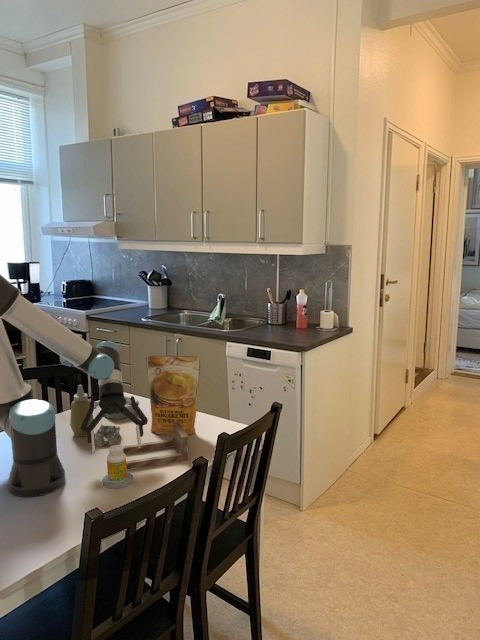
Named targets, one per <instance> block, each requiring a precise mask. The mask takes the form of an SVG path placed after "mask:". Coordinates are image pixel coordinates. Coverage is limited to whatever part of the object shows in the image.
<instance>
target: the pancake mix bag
mask: <svg viewBox="0 0 480 640" xmlns="http://www.w3.org/2000/svg"><path fill="white" fill-rule="evenodd" d="M145 361H146V362H145V363H146V373H147V384H148V393H149V394H148V395H149V399H150V400H149V401H150V413H151V427H150V432H153V433H155V434H157V435H165V436H173V422H179V423H180V425H181V426H182V428H183V429H184V431H185V433H186V434H187V436H190V435H192V434H194V435H195V434H196V428H195V423H196V417H197V406H198V400H199V399H198V398H199V390H200V374H201V372H200V371H201V360H200V358H197V356H189V355H188V356H187V355H186V356H184V355H183V356H181V355H178V356H177V355H149V356H148V357H145Z"/></svg>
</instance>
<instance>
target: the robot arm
mask: <svg viewBox="0 0 480 640" xmlns="http://www.w3.org/2000/svg"><path fill="white" fill-rule="evenodd" d="M21 294H22V293H21V290H20V289H19V288H18V287H17V286H15V285H14V284H13V283H11V282H10V281H9V280H7V279H6V278H5V277H4V276H3V275H2V274H0V429H2V430H3V432H4V433H6V435H7V436H8V438H9V439H10V441H11V451H12V452H11V453H12V465H11V467H10V472H9V476H8V480H7V487H8V491H9V493H10V494H12V495H13V496H17V497H22V498H23V497H24V498H32V497H39V496H42V495H43V496H44V495H46V494H49V493H51V492H54V491H56V490H57V489H59V488H60V487H62V486H63V484H65V481H66V473H65V468H64V466H63V464H62V462H61V460H60V458H59V455H58V445H57V431H56V429H57V428H56V419H57V418H56V414H55V410H54V409H55V408H54V406H53V405H52V404H51V403H50V402H48V401H46V400H43V399H42V400H41V399H36V396H35V393H34V391H33V388H32V385H31V384H28V383H26V382H25V381H24V379H23V375H22V373H21V370H20V367H19V365H18V362H17V358H16V356H15V353H14V350H13V347H12V345H11V342H10V339H9V337H8V334H7V331H6V329H5V325H4V322H3V320H5V321H6V322H8V323H9V324H10V325H12V326H13V327H15V328H17V329H18V330H20V331H21V332H23V333H24V334H26V335H28V336H29V337H31V338H32V339H34V340H35V341H37V342H38V343H40V344H42V345H43V346H45V347H46V349H47V348H48V349H49V350H51V351H52V352H54V353H55V354H57V356H59V361H60V363H61V364H62V365H63V366H67V367H70V368H71V367H73V368H76V369H78V370H80V371H81V372H83V373H86V375H88V376H90V377H91V378H93V379H96V380H98V387H99V388H98V393H99V401H94V400H90V408H89V410H88V412H87V414H86V417H85V419H84V421H83V423H82V425H81V432H85V433H87V435H86V438H87V444H91V452H92V455H96V448H95V447H96V446H95V445H96V443H95V436H94V435H95V434H94V429H95V428H96V426H97V425H98V424H99V423H100V422H101V420H102V419H103V418H104V417H105V414H108V415H111V414H118V413H120V412H121V413H122V414H124V415H125V416H126V418H128V419H129V420H130V421H131V422H132V423H133V424H135V432H136V440H137V441H136V442H137V444H138V448H141V444H142V439H141V438H142V437H143V436H144V427H143V426H145V425H148V421H149V419H148V417H147V416H146V415H145V414H144V411H142V409H141V407H140V406H139V405H137V404H136V402H135V400H136V399H135V397H134V395H132V396H131V397H130V398H128V399H125V398H124V397H125V394H124V393H125V392H124V387H123V376H122V375H123V374H122V367H121V354H120V349H119V346H118V344H117V343H115V342H114V341H110V340H108V341H102V342H99V343H97V345H96V346H94V345H92V344H91V343H89V342H88V341H86V340H85V339H84V338H82V337H81V336H79V335H77V334H76V333H75V332H73V331H72V330H71V329H69V327H66V326H64V325H63V324H62V323H60V322H59V321H58V320H56V319H55V318H54V317H52V316H51V315H49V314H48V313H46V312H45V311H43V310H42V309H41V308H39V307H38V306H37V305H35V304H34V303H32V302H31V301H30V300H28V299H26V298H25V297H24V296H22V295H21ZM2 319H3V320H2ZM126 403H128V404H129V405H131V406H132V408H133V410H134V411H135V413H134V414H133V413H131V412H130V411H129V410H128V409H127V408H126V407H125V404H126ZM97 407H99V408H100V410H99V412H98V413H97V414H96V416H95V417H94V418H93V419H94V420H93V421H92V422H91V424H90V425H89V426H88V427H87V425H88V423H89V420H90V418H91V416H92V414H94V412H95V411H94V410H95V409H97ZM135 414H136V415H137V416H136V415H135Z"/></svg>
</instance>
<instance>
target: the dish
mask: <svg viewBox="0 0 480 640" xmlns="http://www.w3.org/2000/svg"><path fill="white" fill-rule="evenodd" d="M124 398H125V399H128V398H131V397H129V396H124ZM135 402H136V404H137V405H138V406H139V405H140V402H139V400H136V399H135ZM125 407H126V408H127V409H128V410H129V411H130V412H131V413H133V414H134V415H135V414H136V412H135V411H134V410H133V408H132V406H131V405H129V404H128V403H126V404H125ZM104 417H106V418H108V419H113V420H119V419H126V418H127V417H126V416H125V415H124V414H122V413H121V412H120V413H118V414H111V415H108V414H105V415H104Z"/></svg>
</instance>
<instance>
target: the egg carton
mask: <svg viewBox="0 0 480 640" xmlns="http://www.w3.org/2000/svg"><path fill="white" fill-rule="evenodd" d="M120 432H121V427H120V426H117V427H116V425H108V424H107V425H105V424H101V425H100V426H99V428H98V429H97V431H96V433H95V434H94V440H95V445H98V446H102V447H103V446H104V445H108V446H114V445H117V442H118V440H119V436H120V435H121V434H120ZM104 435H105V438H103V437H104Z"/></svg>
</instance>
